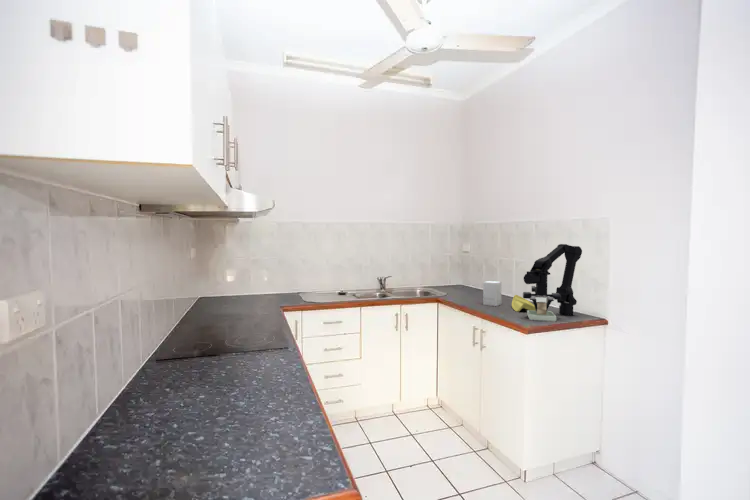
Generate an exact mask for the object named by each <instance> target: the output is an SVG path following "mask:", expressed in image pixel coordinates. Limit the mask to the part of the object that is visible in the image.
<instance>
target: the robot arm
mask: <svg viewBox="0 0 750 500" xmlns="http://www.w3.org/2000/svg"><path fill="white" fill-rule="evenodd" d="M563 254H564V257H565V267H564V271H563V274H562V275H563V277H562V281H561V285H560V286H559V287H556V289H555V290H556V291H555V292H551V294H549V293H548V275H551V273H550V272H549V270H550V269H551V268H552V266H553V263H554V262H555V261H557V259H558V258H560V257H561V256H562V255H563ZM582 254H583V250H582V247H580V246H578V245H570V244H566V243H559V244H558V245H557V246H556V247H555V248H554V249H552V250H551V251H550V252H549V253H548V254H547V255H546V256H544V257H540V258H538V259H535V261H534V263H533V265H532V267H531V269H529V271H526V274H525V275H524V276H523V282H524V283H525V284H526V285H531V291H523V293H522V298H524V299H527V300H528V299H529V300H530V301H531V302H532V304H533V305H534V306H535V309H536V311H537V302H538V301H537V298H546V301H545V303H546V312H547V311H549V307H550V305H551V304H552V302H554V301H555V300H556V301H557V304H558V303H559V305H558V313H559V314H560V315H561V316H571V317H573V316H575V314H574V306H575V305H577V303H578V301H577V299H576V298H575V297H574V290H573V288H572V286H573V279H574V275H575V270H576V265H577V262H578V261H579V260H580V259H581V257H582ZM534 284H535V285H534Z"/></svg>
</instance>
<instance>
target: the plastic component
mask: <svg viewBox="0 0 750 500" xmlns="http://www.w3.org/2000/svg"><path fill="white" fill-rule="evenodd" d="M511 308H512V310H514V311H515V312H517V313H519V312H520V311H522V309H525V310H531V311H536V309H535V306H534V303H533V302H532V301H529V300H528V299H527V298H523V296H520V295H518V294H514V296H513V297H512V301H511Z"/></svg>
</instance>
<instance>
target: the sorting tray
mask: <svg viewBox="0 0 750 500" xmlns="http://www.w3.org/2000/svg"><path fill="white" fill-rule="evenodd" d="M526 316H528V319H529V321H542V322H543V321H544V322H557V316H556V314H555V313H554V312H553V311H549V310H547V312H546V315H542V314H537V313H536V311H531V310H528V309H526Z"/></svg>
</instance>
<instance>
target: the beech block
mask: <svg viewBox="0 0 750 500" xmlns="http://www.w3.org/2000/svg"><path fill="white" fill-rule="evenodd" d="M536 302H537V311H536V313H537V314H542V315H546V301H536Z"/></svg>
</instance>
